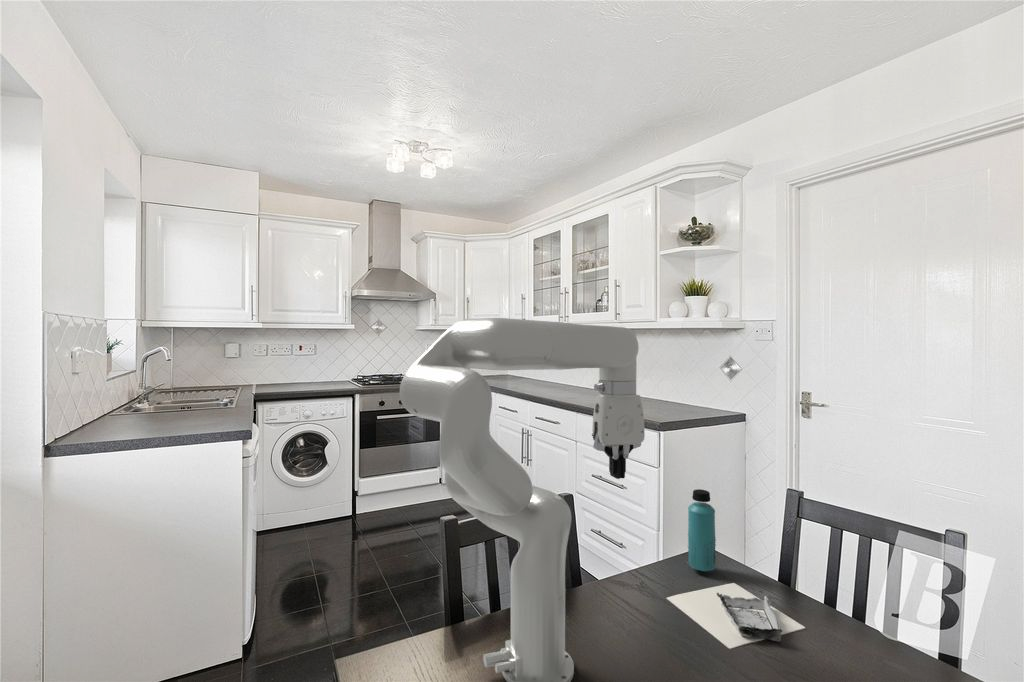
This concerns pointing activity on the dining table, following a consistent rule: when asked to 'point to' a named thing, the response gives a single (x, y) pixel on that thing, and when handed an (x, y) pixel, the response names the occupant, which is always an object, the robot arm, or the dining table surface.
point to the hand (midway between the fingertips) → (617, 476)
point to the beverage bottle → (701, 532)
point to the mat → (715, 620)
